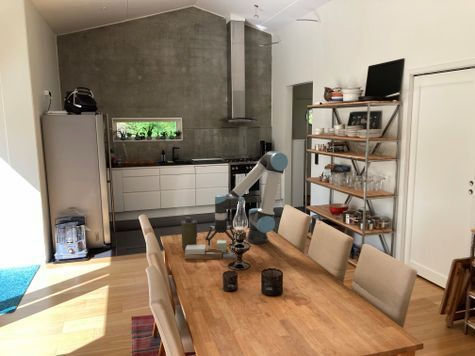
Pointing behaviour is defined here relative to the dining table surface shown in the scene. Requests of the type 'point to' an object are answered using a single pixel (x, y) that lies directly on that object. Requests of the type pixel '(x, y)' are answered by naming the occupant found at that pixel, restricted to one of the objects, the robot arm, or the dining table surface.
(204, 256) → the runners
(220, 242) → the stop block
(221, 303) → the dining table surface
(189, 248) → the slab
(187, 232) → the canister
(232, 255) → the pad
